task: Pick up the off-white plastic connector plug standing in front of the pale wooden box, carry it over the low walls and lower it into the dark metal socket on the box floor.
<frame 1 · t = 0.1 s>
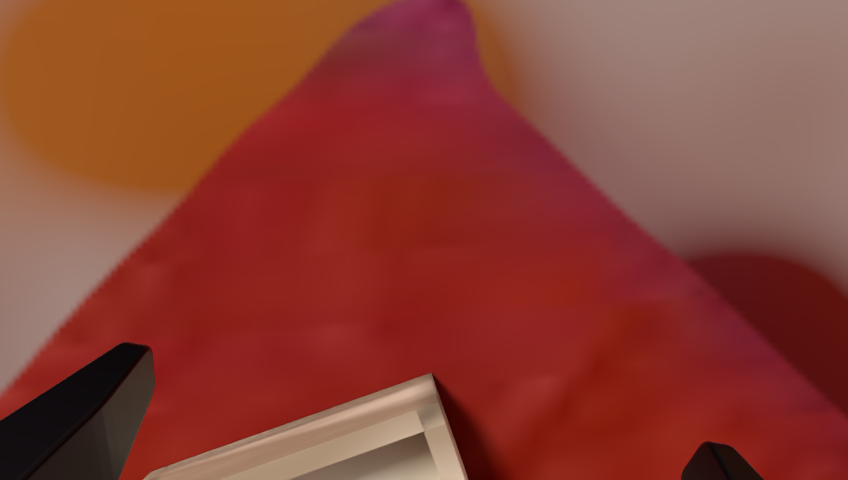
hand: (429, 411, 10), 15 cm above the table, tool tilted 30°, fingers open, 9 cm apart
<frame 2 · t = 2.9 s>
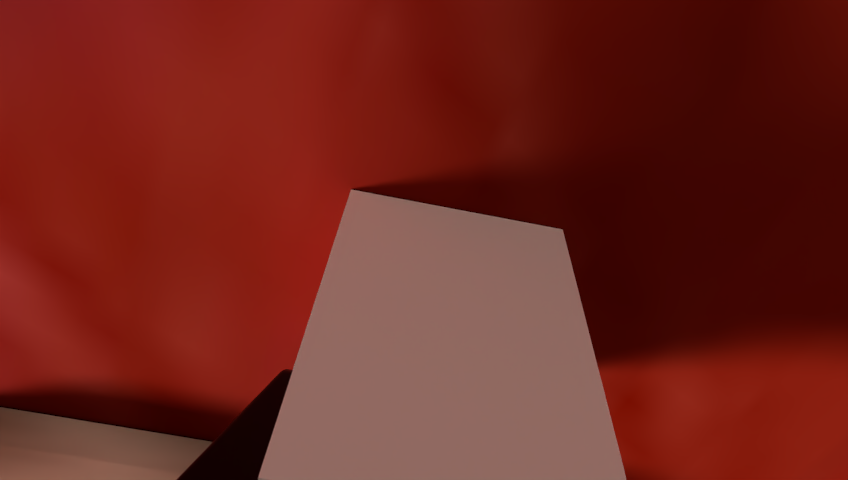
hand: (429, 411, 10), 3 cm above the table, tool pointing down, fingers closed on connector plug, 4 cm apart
connector plug: (436, 292, 12), on the table, touching gripper
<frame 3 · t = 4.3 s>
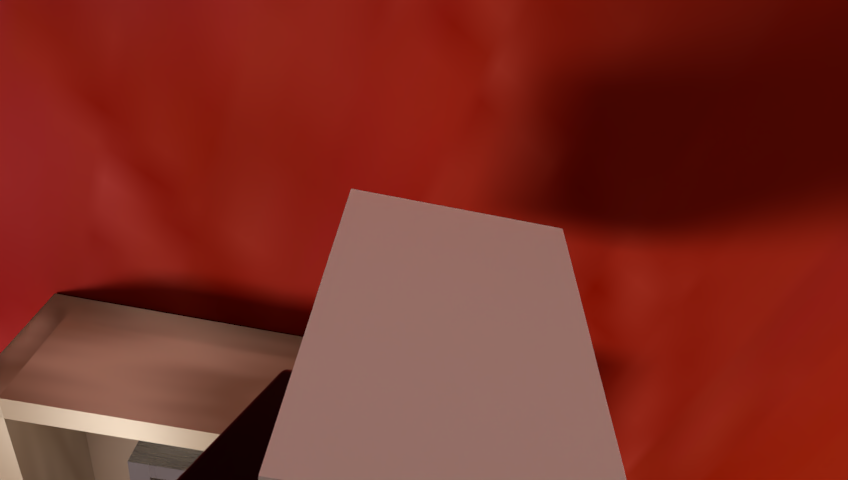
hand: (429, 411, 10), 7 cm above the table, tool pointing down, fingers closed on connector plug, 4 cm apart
socket box: (272, 451, 22), on the table
connector plug: (436, 291, 12), point 4 cm above the table, touching gripper
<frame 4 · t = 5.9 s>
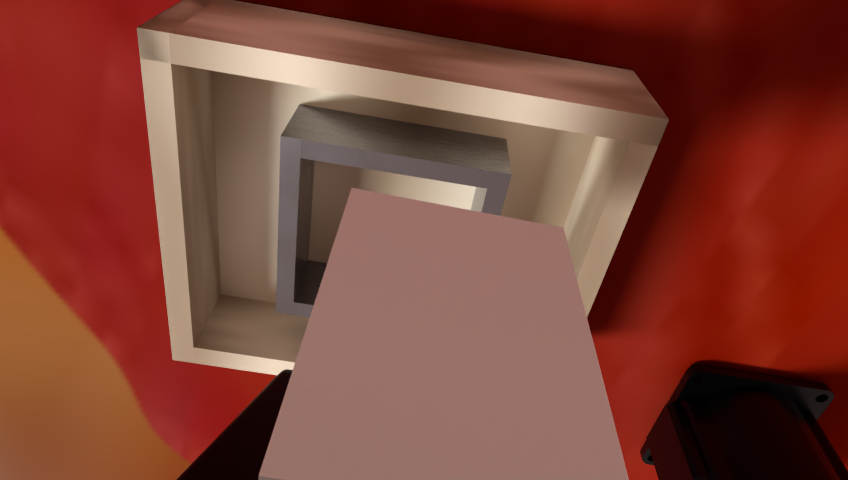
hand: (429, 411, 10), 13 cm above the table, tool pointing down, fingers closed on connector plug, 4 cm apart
socket box: (393, 195, 22), on the table
connector plug: (437, 291, 12), point 10 cm above the table, touching gripper
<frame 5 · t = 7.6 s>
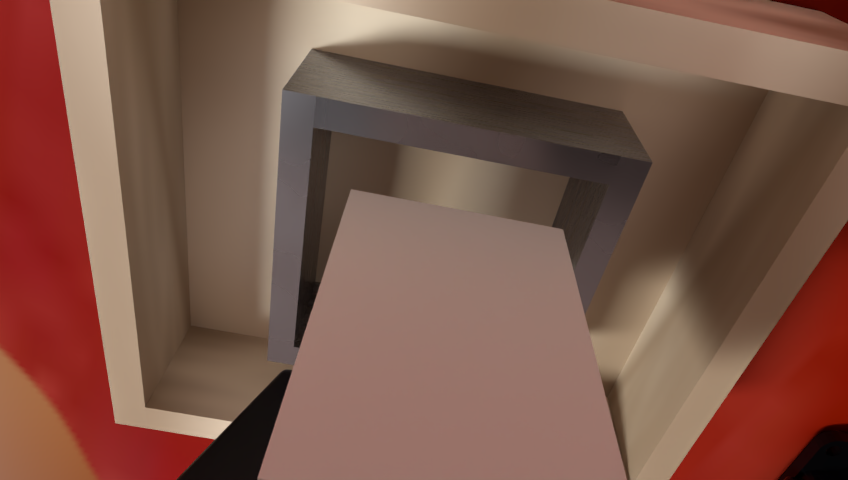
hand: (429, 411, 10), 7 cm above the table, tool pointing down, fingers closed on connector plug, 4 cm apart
socket box: (439, 193, 16), on the table
connector plug: (436, 292, 12), point 4 cm above the table, touching gripper
when the fingers open (5 cm above the table, at t = 9.0 s): connector plug stays where it is, resting on socket box.
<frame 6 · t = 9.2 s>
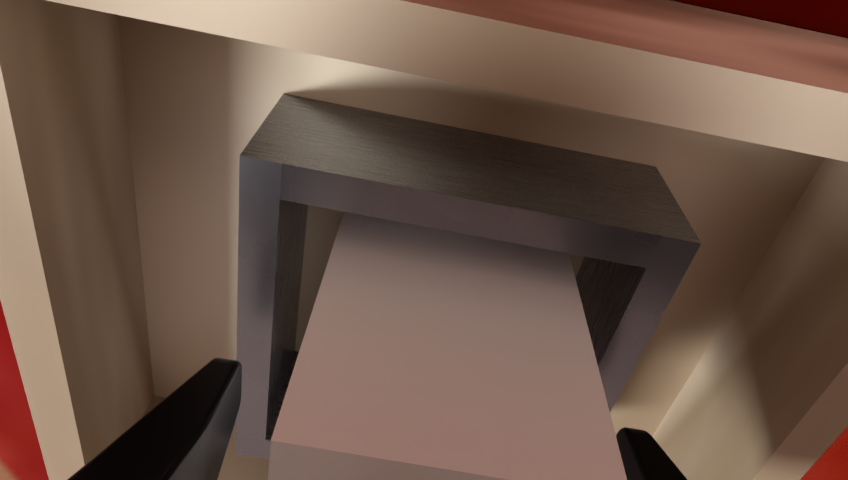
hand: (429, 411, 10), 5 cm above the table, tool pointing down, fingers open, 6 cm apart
socket box: (437, 251, 13), on the table
connector plug: (437, 278, 13), point 1 cm above the table, touching socket box
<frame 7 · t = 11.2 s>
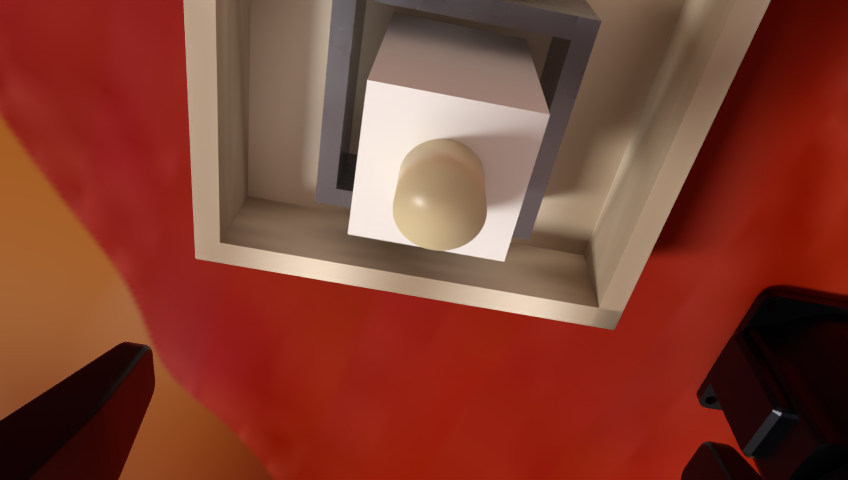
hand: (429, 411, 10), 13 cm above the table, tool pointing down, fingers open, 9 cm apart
socket box: (446, 79, 20), on the table
connector plug: (446, 89, 19), point 1 cm above the table, touching socket box
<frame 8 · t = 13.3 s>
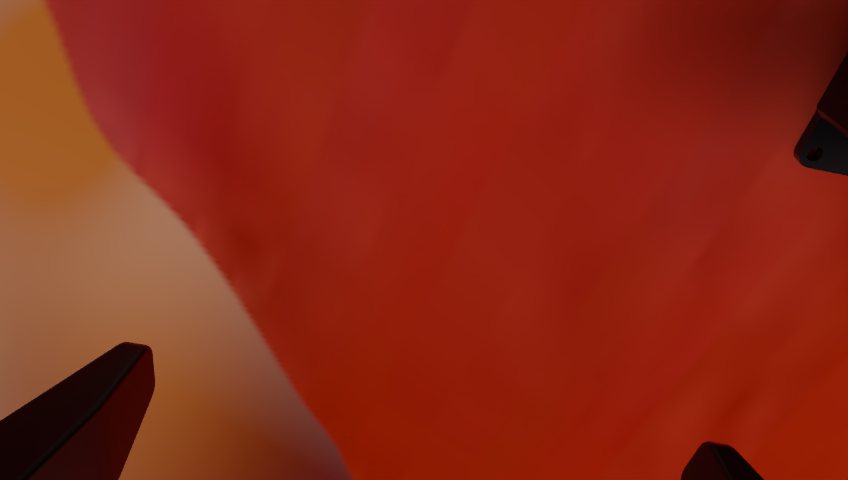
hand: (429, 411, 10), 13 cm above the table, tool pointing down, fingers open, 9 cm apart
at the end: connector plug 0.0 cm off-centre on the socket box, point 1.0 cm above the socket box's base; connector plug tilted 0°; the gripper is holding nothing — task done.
